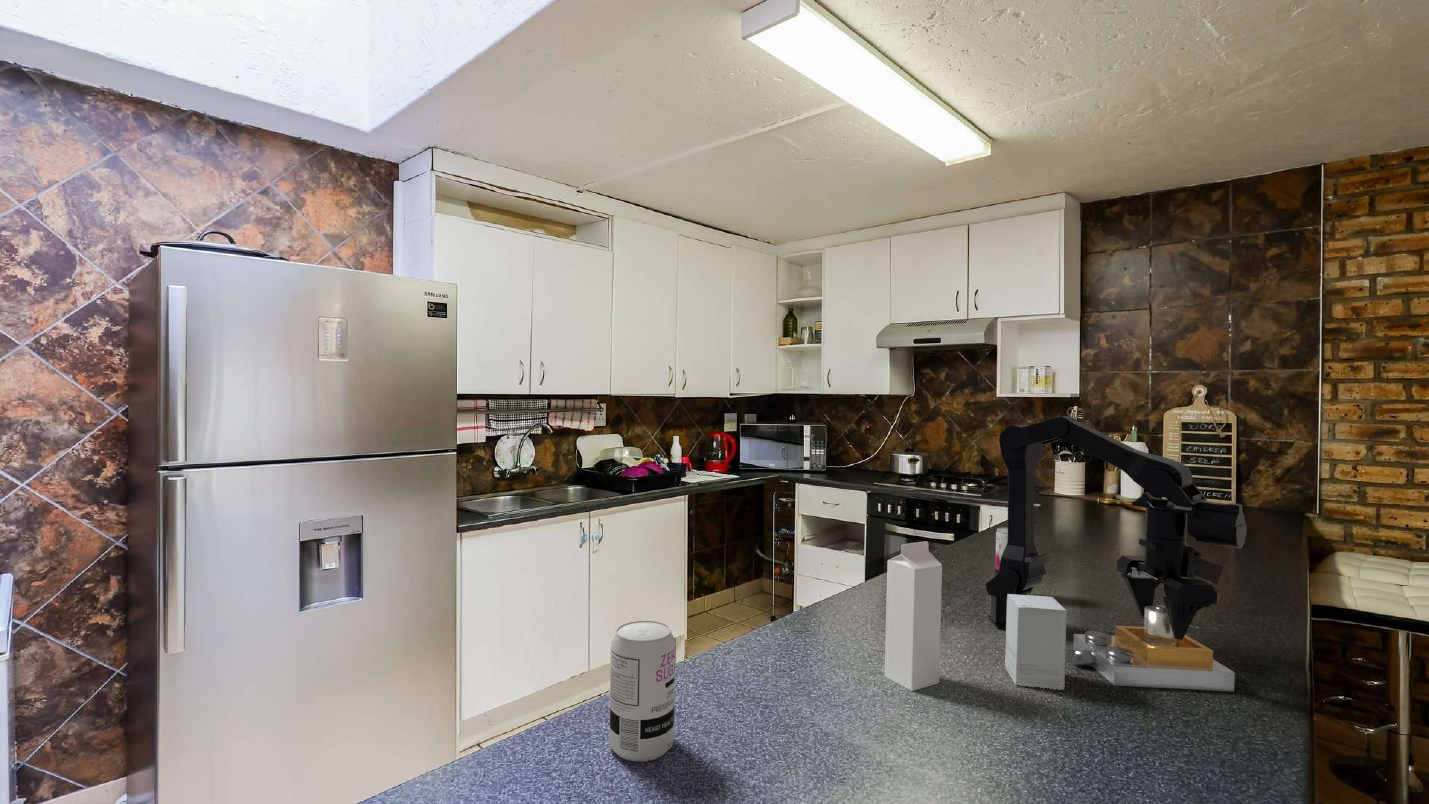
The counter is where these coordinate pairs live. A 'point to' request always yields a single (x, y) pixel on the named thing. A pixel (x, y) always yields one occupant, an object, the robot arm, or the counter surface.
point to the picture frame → (1150, 661)
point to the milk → (913, 617)
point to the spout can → (1158, 627)
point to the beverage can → (1000, 546)
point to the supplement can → (642, 690)
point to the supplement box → (1035, 641)
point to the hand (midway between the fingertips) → (1161, 628)
